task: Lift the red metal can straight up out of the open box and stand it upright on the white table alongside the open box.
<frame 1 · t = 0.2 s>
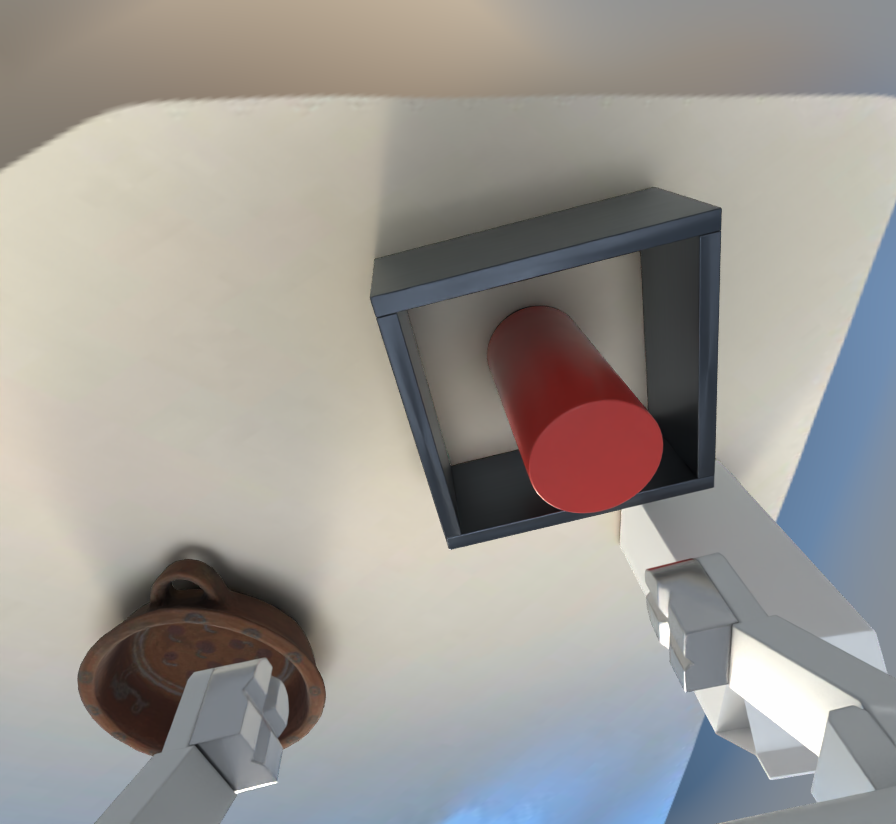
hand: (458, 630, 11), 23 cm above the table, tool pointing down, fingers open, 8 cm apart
can: (559, 396, 29), in the open box
open box: (534, 351, 34), on the table
milk carton: (664, 500, 41), on the table
dish: (224, 641, 45), on the table
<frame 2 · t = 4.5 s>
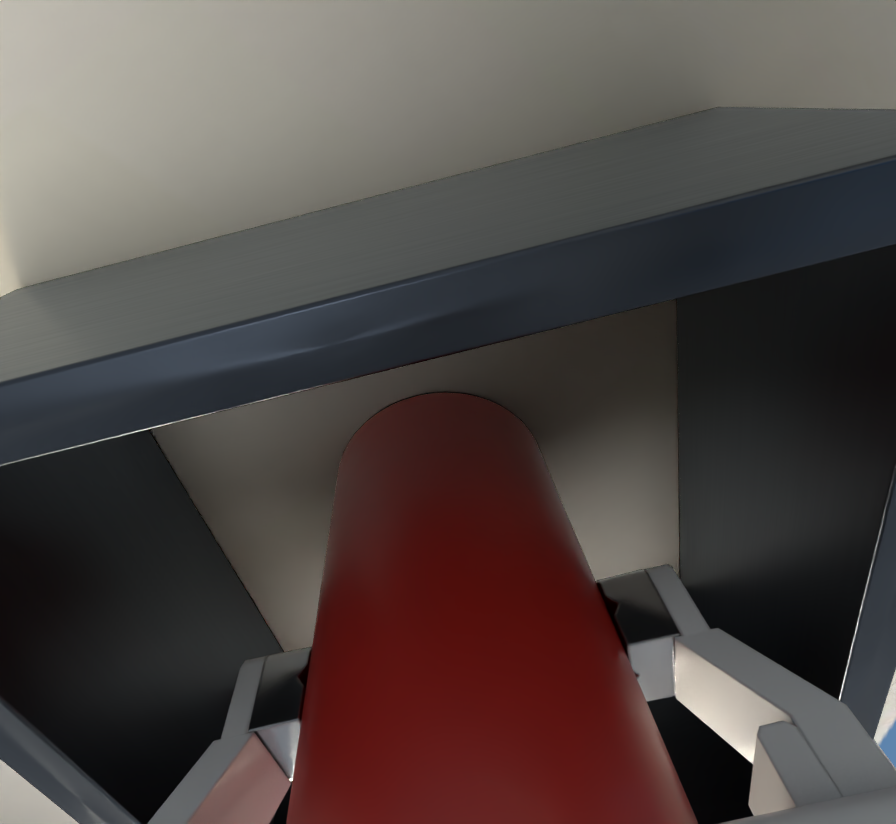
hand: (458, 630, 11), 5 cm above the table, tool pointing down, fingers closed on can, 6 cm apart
can: (465, 665, 11), in the open box, touching gripper
open box: (442, 481, 16), on the table
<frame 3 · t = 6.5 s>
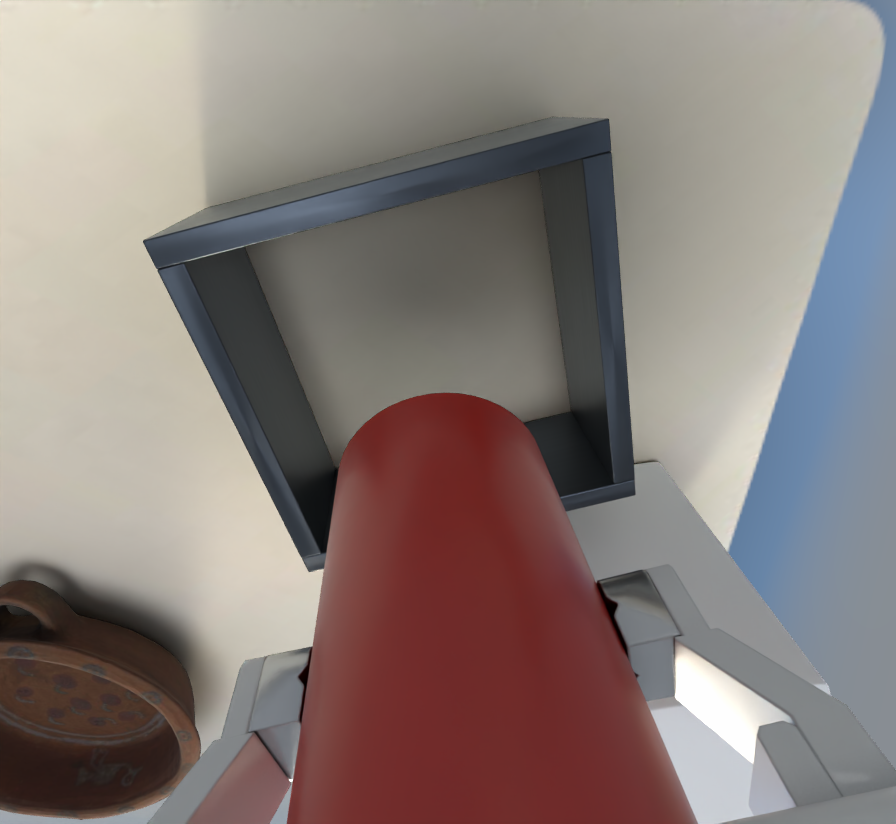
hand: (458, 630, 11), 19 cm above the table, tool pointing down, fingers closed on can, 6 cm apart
can: (465, 665, 11), point 20 cm above the table, touching gripper
open box: (422, 328, 28), on the table
milk carton: (599, 510, 35), on the table
dish: (91, 673, 38), on the table
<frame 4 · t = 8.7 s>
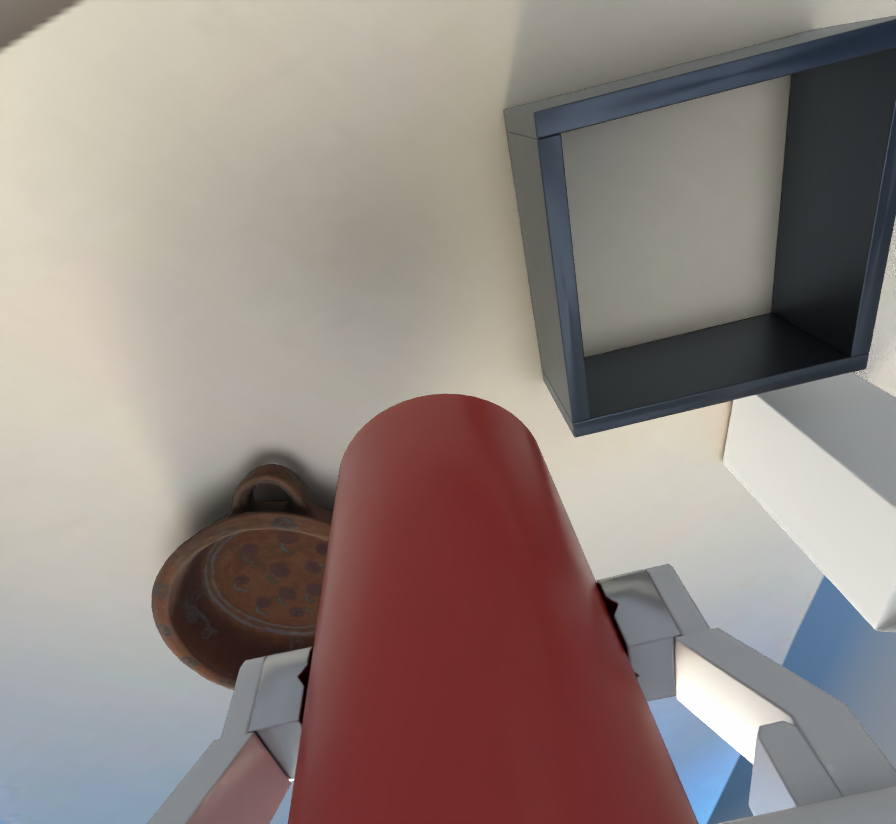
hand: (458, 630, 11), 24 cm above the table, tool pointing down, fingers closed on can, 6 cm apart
can: (466, 667, 11), point 25 cm above the table, touching gripper
open box: (660, 229, 31), on the table
milk carton: (774, 412, 39), on the table
dish: (296, 566, 42), on the table
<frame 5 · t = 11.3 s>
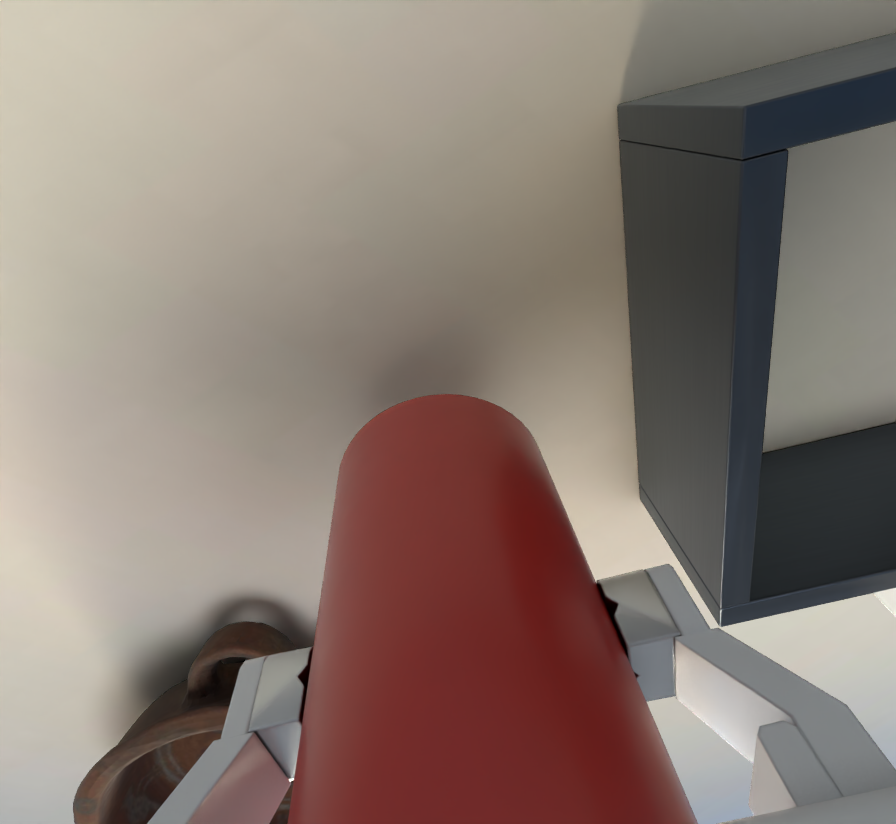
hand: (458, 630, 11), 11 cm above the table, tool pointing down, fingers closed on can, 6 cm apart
can: (465, 667, 11), point 12 cm above the table, touching gripper
open box: (839, 289, 20), on the table
dish: (285, 726, 31), on the table
when the fingers open (5 cm above the table, at t = 13.2 s): can stays where it is, on the table.
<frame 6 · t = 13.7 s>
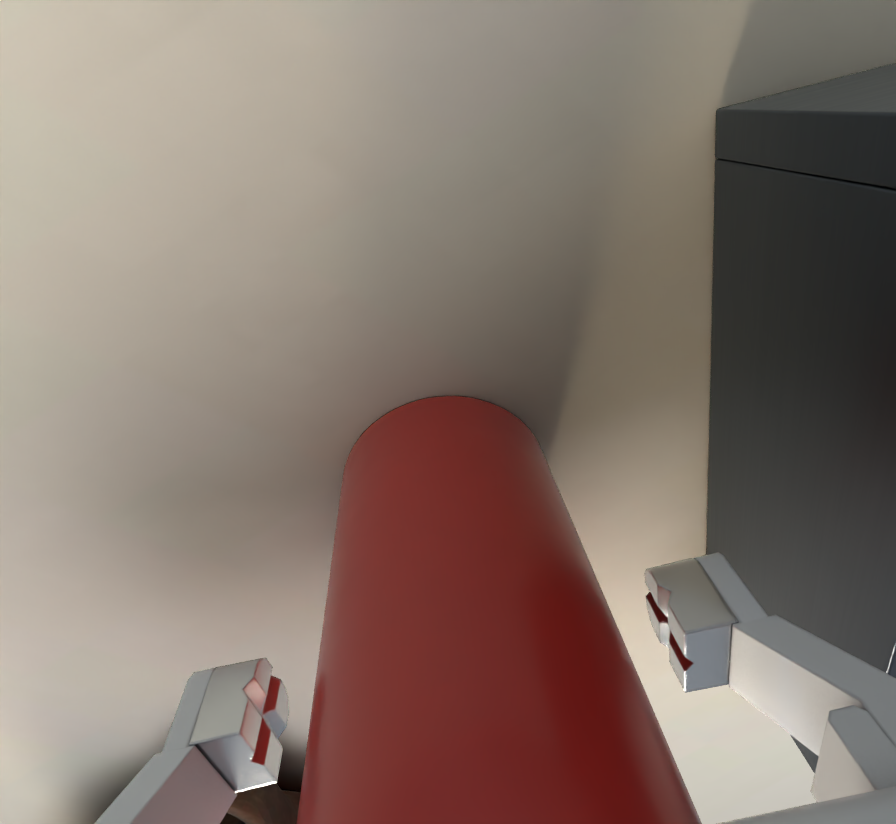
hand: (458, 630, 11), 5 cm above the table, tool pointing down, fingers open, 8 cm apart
can: (470, 665, 11), on the table
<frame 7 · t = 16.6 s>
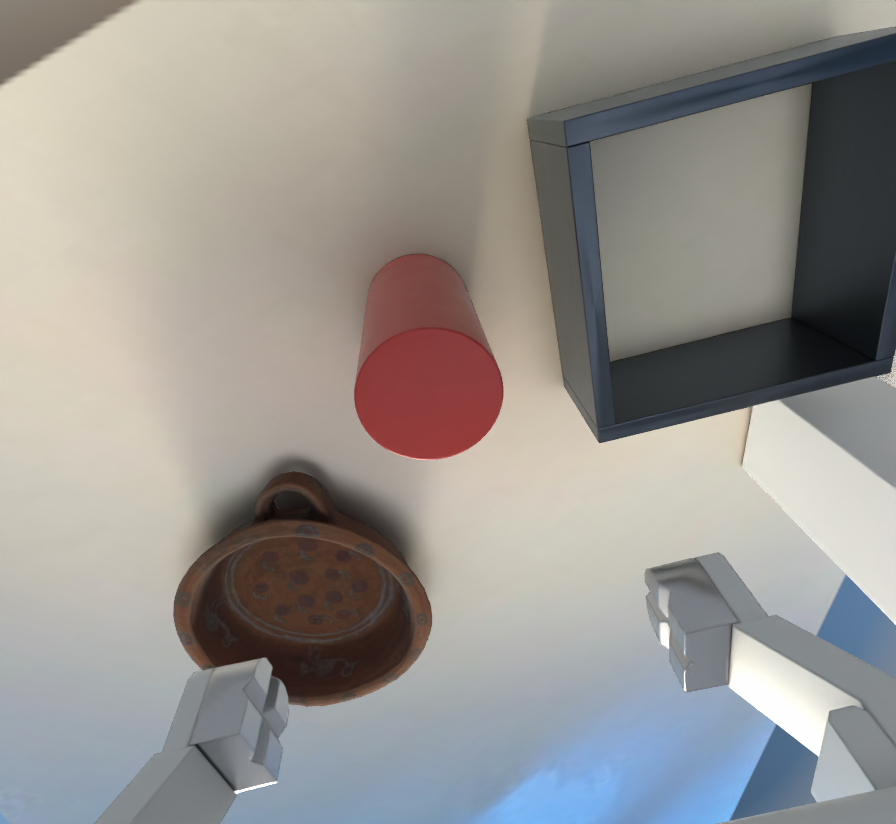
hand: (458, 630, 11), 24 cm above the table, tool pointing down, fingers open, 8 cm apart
can: (422, 342, 27), on the table
open box: (681, 235, 32), on the table
milk carton: (793, 416, 39), on the table
dish: (315, 573, 42), on the table
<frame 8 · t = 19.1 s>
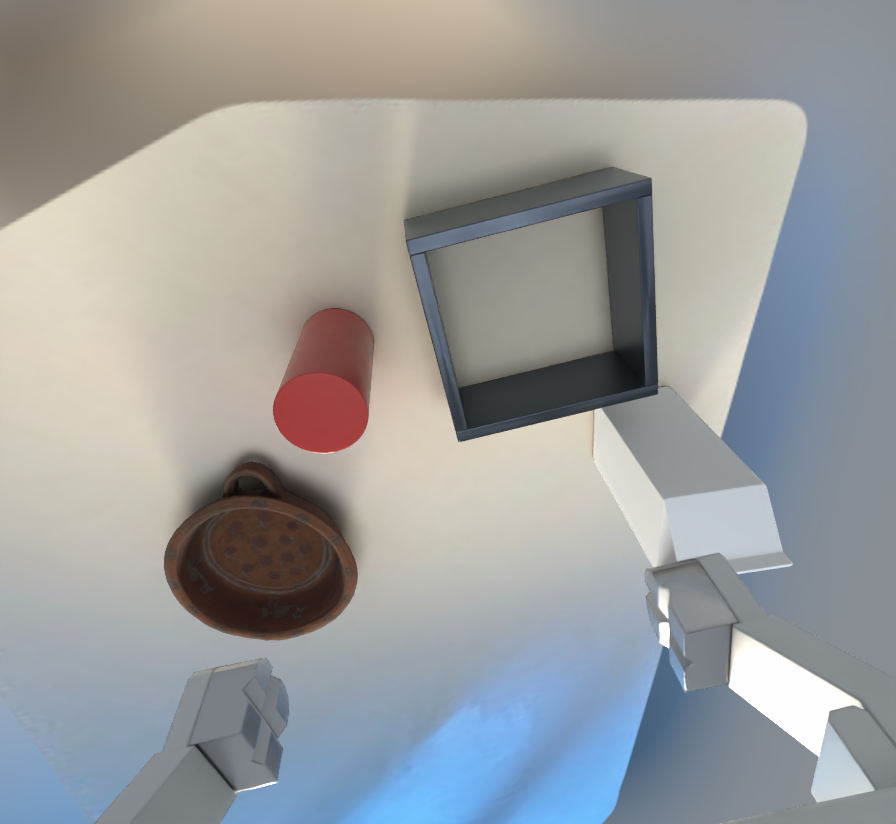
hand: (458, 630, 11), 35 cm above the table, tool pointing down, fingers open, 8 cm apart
can: (330, 374, 40), on the table
open box: (523, 294, 45), on the table
milk carton: (628, 422, 52), on the table
dish: (273, 540, 55), on the table
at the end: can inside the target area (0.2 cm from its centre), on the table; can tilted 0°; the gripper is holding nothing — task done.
